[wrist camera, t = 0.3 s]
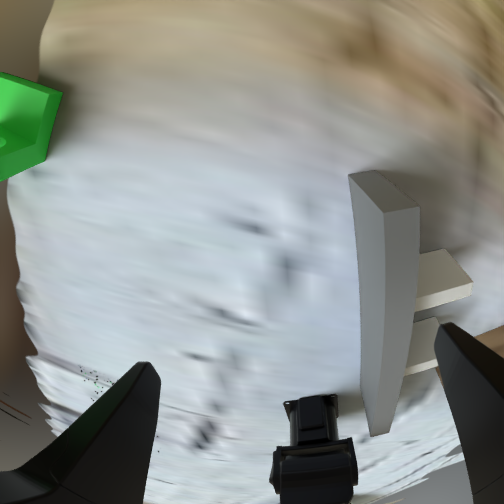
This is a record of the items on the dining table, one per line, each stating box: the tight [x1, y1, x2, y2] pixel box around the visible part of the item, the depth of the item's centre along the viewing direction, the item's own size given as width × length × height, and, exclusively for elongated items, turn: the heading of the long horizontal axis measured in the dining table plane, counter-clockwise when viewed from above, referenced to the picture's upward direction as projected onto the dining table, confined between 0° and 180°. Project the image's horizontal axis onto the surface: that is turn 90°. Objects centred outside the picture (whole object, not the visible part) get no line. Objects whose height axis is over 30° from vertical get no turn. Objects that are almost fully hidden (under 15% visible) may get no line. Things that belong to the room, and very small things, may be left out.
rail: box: [436, 325, 504, 388], centre depth 24 cm, size 4×16×6 cm, turn 104°
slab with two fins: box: [348, 170, 473, 437], centre depth 21 cm, size 24×8×7 cm, turn 14°
